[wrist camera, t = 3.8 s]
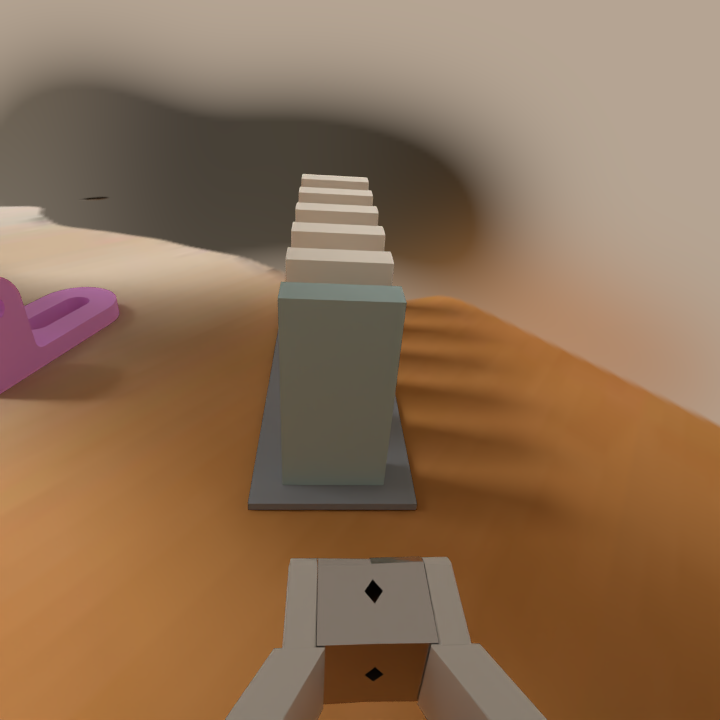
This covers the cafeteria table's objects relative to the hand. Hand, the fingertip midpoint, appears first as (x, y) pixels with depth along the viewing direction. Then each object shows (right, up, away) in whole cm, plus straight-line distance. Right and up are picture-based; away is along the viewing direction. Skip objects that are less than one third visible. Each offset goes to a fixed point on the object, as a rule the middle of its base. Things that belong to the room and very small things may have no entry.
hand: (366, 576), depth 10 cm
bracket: (-23, +5, +26) cm, 35 cm away
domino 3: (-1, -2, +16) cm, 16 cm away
